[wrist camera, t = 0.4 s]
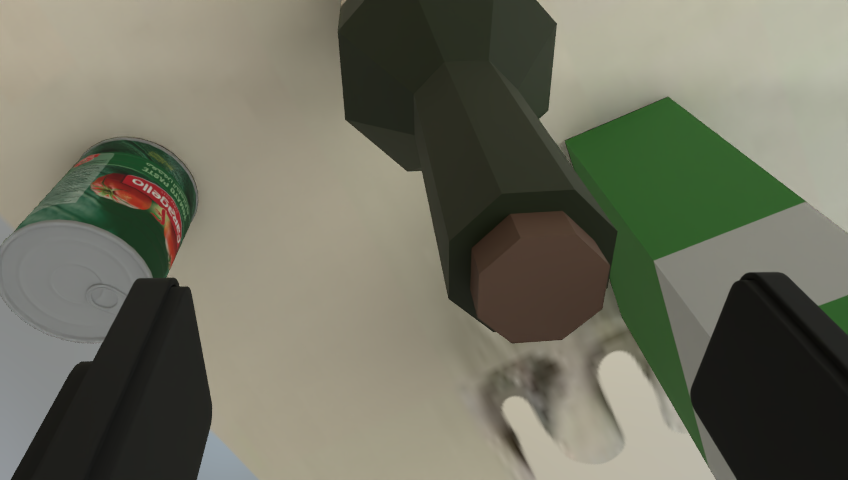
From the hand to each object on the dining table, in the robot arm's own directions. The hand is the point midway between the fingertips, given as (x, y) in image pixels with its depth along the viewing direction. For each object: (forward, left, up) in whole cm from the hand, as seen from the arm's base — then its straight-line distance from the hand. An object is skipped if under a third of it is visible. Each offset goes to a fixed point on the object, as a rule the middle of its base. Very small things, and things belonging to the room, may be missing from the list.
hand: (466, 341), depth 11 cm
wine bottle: (-1, +1, -31) cm, 31 cm away
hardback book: (-1, +25, -31) cm, 39 cm away
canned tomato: (+21, -4, -31) cm, 37 cm away
